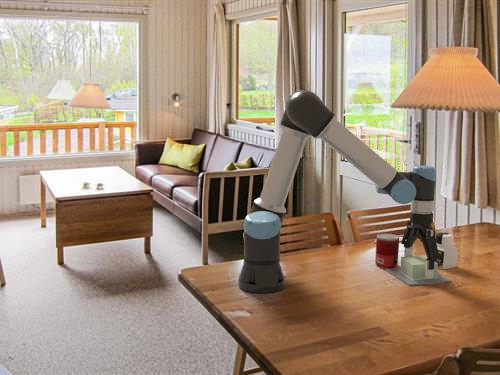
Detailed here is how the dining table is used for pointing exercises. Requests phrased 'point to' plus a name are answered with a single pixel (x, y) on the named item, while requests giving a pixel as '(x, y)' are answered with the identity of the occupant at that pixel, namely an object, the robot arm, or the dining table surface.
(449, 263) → the medicine bottle
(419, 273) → the block
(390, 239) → the canned food
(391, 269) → the plate
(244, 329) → the dining table surface
